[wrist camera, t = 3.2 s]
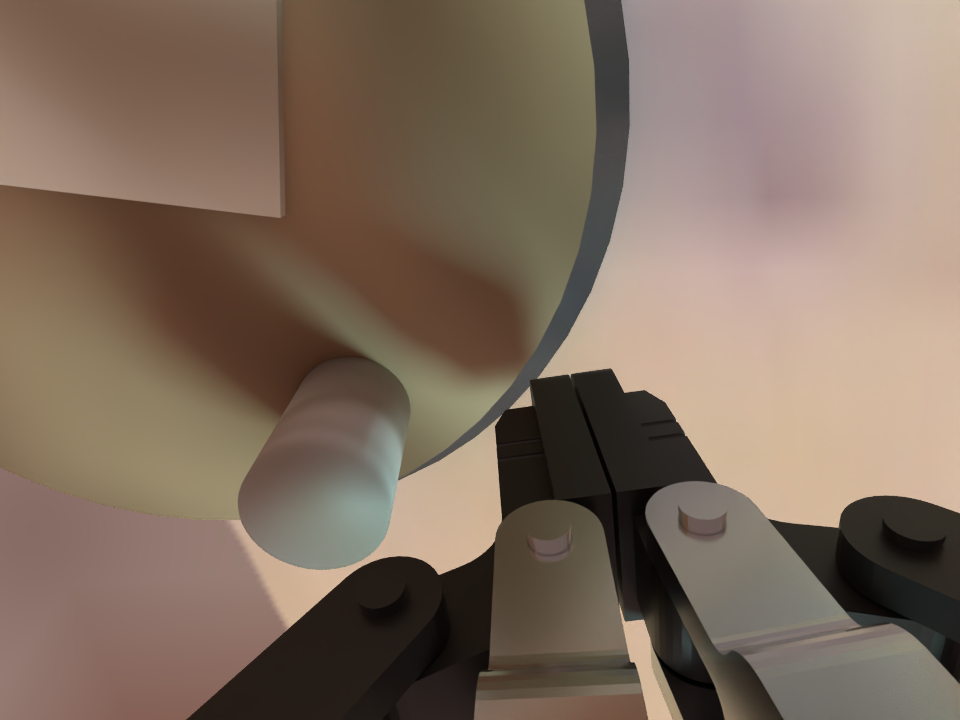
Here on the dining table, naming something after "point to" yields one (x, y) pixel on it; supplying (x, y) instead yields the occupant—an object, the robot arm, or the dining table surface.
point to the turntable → (278, 246)
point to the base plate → (602, 206)
